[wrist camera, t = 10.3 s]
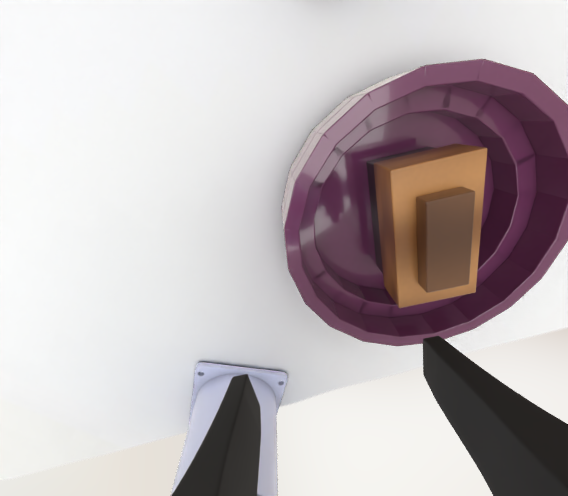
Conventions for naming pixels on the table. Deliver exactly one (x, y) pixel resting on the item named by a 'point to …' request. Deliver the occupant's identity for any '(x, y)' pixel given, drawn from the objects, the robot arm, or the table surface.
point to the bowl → (415, 135)
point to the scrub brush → (428, 221)
